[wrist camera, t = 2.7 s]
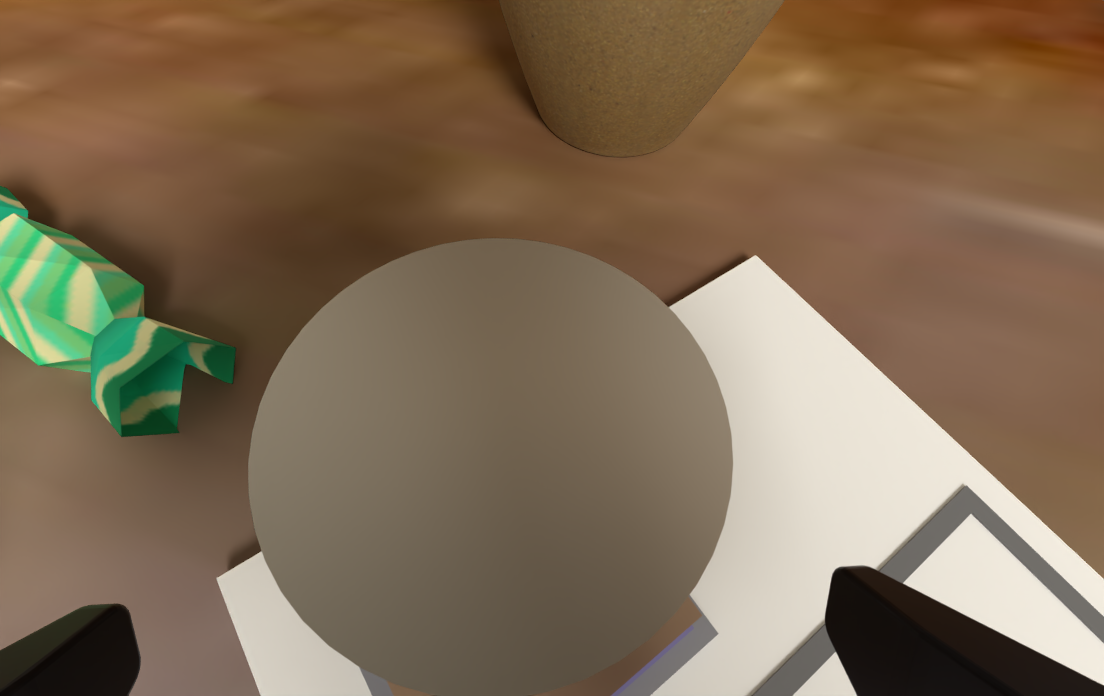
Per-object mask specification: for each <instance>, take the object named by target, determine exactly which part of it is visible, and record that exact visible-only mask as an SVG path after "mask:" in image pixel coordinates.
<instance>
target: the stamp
mask: <svg viewBox="0 0 1104 696" xmlns="http://www.w3.org/2000/svg"><path fill="white" fill-rule="evenodd" d="M732 473H733V451H732V435H731V429H730V424H729V419H728V414H727V409H726V405H725V402H724V399H723V396H722V393H721V390H720V387H719V384H718V381H717V379H716V376H715V374H714V372H713V370H712V368H711V366H710V364H709V362H708V360H707V358H706V356H705V354H704V353H703V351H702V349H701V348H700V346H699V345H698V343H697V342H696V340H695V339H694V337H693V336H692V334H691V333H690V331H689V330H688V329H687V328H686V327H685V325H684V324H683V323H682V322H681V320H680V319H679V318H678V317H677V316H676V314H675V313H674V312H673V311H672V310H671V309H670V308H669V307H668V306H666V305H665V304H664V303H663V302H662V301H661V300H660V299H659V298H658V297H657V296H656V295H655V294H654V293H652V292H651V291H650V290H648V289H647V288H646V287H644V286H643V285H642V284H640V283H639V282H638V281H636V280H635V279H633V278H632V277H630V276H629V275H627V274H625V273H624V272H622V271H620V270H619V269H617V268H615V267H614V266H611V265H609V264H607V263H605V262H603V261H601V260H598V259H596V258H594V257H592V256H590V255H587V254H584V253H581V252H578V251H575V250H572V249H569V248H566V247H562V246H557V245H553V244H549V243H544V242H538V241H531V240H523V239H506V238H487V239H473V240H463V241H458V242H452V243H446V244H441V245H437V246H434V247H430V248H427V249H423V250H420V251H416V252H413V253H411V254H408V255H406V256H403V257H401V258H398V259H396V260H393V261H391V262H389V263H387V264H385V265H383V266H381V267H379V268H377V269H375V270H373V271H372V272H370V273H368V274H366V275H365V276H363V277H362V278H360V279H359V280H357V281H356V282H354V283H353V284H351V285H350V286H348V287H347V288H345V289H344V290H342V291H341V292H340V293H339V294H338V295H337V296H335V297H334V298H333V299H332V300H331V301H329V302H328V303H327V304H326V305H325V306H323V307H322V308H321V309H320V310H319V312H318V313H317V314H316V315H315V316H314V317H313V318H312V319H311V320H310V321H309V322H308V323H307V324H306V325H305V326H304V327H303V329H302V330H301V331H300V333H299V334H298V335H297V337H296V338H295V339H294V341H293V342H292V343H291V345H290V346H289V347H288V349H287V350H286V352H285V353H284V355H283V357H282V358H281V360H280V362H279V364H278V365H277V367H276V369H275V371H274V372H273V374H272V376H271V378H270V381H269V383H268V385H267V388H266V390H265V393H264V395H263V397H262V400H261V402H260V405H259V409H258V413H257V416H256V420H255V424H254V428H253V431H252V437H251V445H250V453H249V461H248V484H249V501H250V507H251V513H252V518H253V524H254V530H255V533H256V536H257V539H258V542H259V545H260V548H261V551H262V553H263V556H264V559H265V562H266V564H267V566H268V568H269V570H270V572H271V573H272V575H273V577H274V579H275V581H276V583H277V585H278V587H279V589H280V591H281V592H282V594H283V595H284V596H285V598H286V599H287V600H288V602H289V603H290V605H291V606H292V607H293V609H294V610H295V611H296V613H297V614H298V615H299V617H300V618H301V619H302V621H303V622H304V623H306V624H307V625H308V626H309V627H310V628H311V629H312V630H313V631H314V632H315V633H316V634H317V635H318V636H319V637H320V638H321V639H322V640H323V641H324V642H325V643H326V644H327V645H328V646H330V647H331V648H332V649H334V650H335V651H337V652H338V653H340V654H341V655H342V656H344V657H345V658H347V659H348V660H350V661H351V662H353V663H354V664H355V665H357V666H358V667H360V668H362V669H364V670H366V671H368V672H370V673H372V674H375V675H377V676H379V677H381V678H383V679H385V680H386V681H387V683H388V685H389V687H390V689H391V691H392V693H393V695H394V696H611V695H612V694H613V693H615V692H616V691H617V690H618V689H619V688H620V687H621V686H623V685H624V684H625V683H626V682H627V681H628V680H629V679H631V678H632V677H633V676H634V675H635V674H636V673H637V672H639V671H640V670H641V669H642V668H643V667H644V666H645V665H646V664H648V663H649V662H650V661H651V660H652V659H653V658H654V657H656V656H657V655H658V654H659V653H660V652H661V651H662V650H664V649H665V648H666V647H667V646H668V645H669V644H670V643H672V642H673V641H674V640H675V639H676V638H677V637H678V636H680V635H681V634H682V633H683V632H684V631H685V630H686V629H688V628H689V627H690V626H691V625H692V624H693V623H694V622H696V621H697V620H698V619H699V618H700V617H701V616H702V614H701V613H700V612H699V610H698V609H697V607H696V606H695V605H694V603H693V602H692V601H691V599H690V598H689V597H688V596H689V595H690V593H691V592H692V591H693V589H694V588H695V587H696V585H697V584H698V582H699V580H700V578H701V576H702V574H703V573H704V571H705V569H706V567H707V565H708V563H709V562H710V560H711V558H712V556H713V554H714V551H715V548H716V546H717V543H718V540H719V538H720V535H721V532H722V529H723V527H724V524H725V519H726V514H727V510H728V505H729V501H730V496H731V487H732Z"/></svg>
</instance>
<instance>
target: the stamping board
mask: <svg viewBox="0 0 1104 696" xmlns="http://www.w3.org/2000/svg"><path fill="white" fill-rule="evenodd" d="M669 308H670V309H671V310H672V311H673V312H674V313H675V314H676V316H677V317H678V318H679V319H680V320H681V322H682V323H683V324H684V325H685V327H686V328H687V329H688V330H689V331H690V333H691V334H692V336H693V337H694V339H695V340H696V342H697V343H698V345H699V346H700V348H701V349H702V351H703V353H704V354H705V356H706V358H707V360H708V362H709V364H710V366H711V368H712V370H713V372H714V374H715V376H716V379H717V381H718V384H719V387H720V390H721V393H722V396H723V399H724V402H725V405H726V409H727V414H728V419H729V424H730V429H731V435H732V451H733V473H732V487H731V496H730V501H729V505H728V510H727V514H726V519H725V524H724V527H723V529H722V532H721V535H720V538H719V540H718V543H717V546H716V548H715V551H714V554H713V556H712V558H711V560H710V562H709V563H708V565H707V567H706V569H705V571H704V573H703V574H702V576H701V578H700V580H699V582H698V584H697V585H696V587H695V588H694V589H693V591H692V592H691V593H690V595H689V596H688V597H689V598H690V599H691V601H692V602H693V603H694V605H695V606H696V607H697V609H698V610H699V612H700V613H701V614H702V616H701V617H700V618H699V619H698V620H697V621H696V622H694V623H693V624H692V625H691V626H690V627H689V628H688V629H686V630H685V631H684V632H683V633H682V634H681V635H680V636H678V637H677V638H676V639H675V640H674V641H673V642H672V643H670V644H669V645H668V646H667V647H666V648H665V649H664V650H662V651H661V652H660V653H659V654H658V655H657V656H656V657H654V658H653V659H652V660H651V661H650V662H649V663H648V664H646V665H645V666H644V667H643V668H642V669H641V670H640V671H639V672H637V673H636V674H635V675H634V676H633V677H632V678H631V679H629V680H628V681H627V682H626V683H625V684H624V685H623V686H621V687H620V688H619V689H618V690H617V691H616V692H615V693H613V694H612V695H611V696H857V695H856V693H855V691H854V689H853V686H852V684H851V682H850V680H849V678H848V676H847V674H846V672H845V670H844V668H843V666H842V664H841V662H840V660H839V658H838V655H837V653H836V651H835V649H834V647H833V645H832V643H831V641H830V639H829V636H828V634H827V631H826V626H825V611H826V605H827V600H828V594H829V588H830V583H831V577H832V573H833V572H834V570H835V569H836V568H838V567H841V566H857V565H865V566H869V567H871V568H874V569H876V570H878V571H880V572H881V573H883V574H885V575H887V576H889V577H891V578H893V579H895V580H897V581H899V582H901V583H903V584H905V585H907V586H909V587H911V588H913V589H915V590H917V591H919V592H921V593H923V594H925V595H927V596H929V597H931V598H933V599H935V600H937V601H939V602H941V603H943V604H945V605H946V606H948V607H950V608H952V609H954V610H956V611H958V612H960V613H962V614H964V615H966V616H968V617H970V618H972V619H974V620H976V621H978V622H980V623H982V624H984V625H986V626H988V627H990V628H992V629H994V630H996V631H998V632H1000V633H1002V634H1004V635H1006V636H1008V637H1010V638H1011V639H1013V640H1015V641H1017V642H1019V643H1021V644H1023V645H1025V646H1027V647H1029V648H1031V649H1033V650H1035V651H1037V652H1039V653H1041V654H1043V655H1045V656H1047V657H1049V658H1051V659H1053V660H1055V661H1057V662H1059V663H1061V664H1063V665H1065V666H1067V667H1069V668H1071V669H1073V670H1075V671H1076V672H1078V673H1080V674H1082V675H1084V676H1086V677H1088V678H1090V679H1092V680H1094V681H1096V682H1098V683H1100V684H1102V685H1104V579H1103V578H1102V577H1101V576H1100V575H1099V574H1098V573H1097V572H1095V571H1094V570H1093V569H1092V568H1091V567H1090V566H1089V565H1088V564H1087V563H1086V562H1085V561H1084V560H1083V559H1082V558H1080V557H1079V556H1078V555H1077V554H1076V553H1075V552H1074V551H1073V550H1072V549H1071V548H1070V547H1069V546H1068V545H1066V544H1065V543H1064V542H1063V541H1062V540H1061V539H1060V538H1059V537H1058V536H1057V535H1056V534H1055V533H1054V532H1053V531H1051V530H1050V529H1049V528H1048V527H1047V526H1046V525H1045V524H1044V523H1043V522H1042V521H1041V520H1040V519H1039V518H1037V517H1036V516H1035V515H1034V514H1033V513H1032V512H1031V511H1030V510H1029V509H1028V508H1027V507H1026V506H1025V505H1024V504H1022V503H1021V502H1020V501H1019V500H1018V499H1017V498H1016V497H1015V496H1014V495H1013V494H1012V493H1011V492H1010V491H1008V490H1007V489H1006V488H1005V487H1004V486H1003V485H1002V484H1001V483H1000V482H999V481H998V480H997V479H996V478H995V477H993V476H992V475H991V474H990V473H989V472H988V471H987V470H986V469H985V468H984V467H983V466H982V465H981V464H979V463H978V462H977V461H976V460H975V459H974V458H973V457H972V456H971V455H970V454H969V453H968V452H967V451H966V450H964V449H963V448H962V447H961V446H960V445H959V444H958V443H957V442H956V441H955V440H954V439H953V438H952V437H950V436H949V435H948V434H947V433H946V432H945V431H944V430H943V429H942V428H941V427H940V426H939V425H938V424H937V423H935V422H934V421H933V420H932V419H931V418H930V417H929V416H928V415H927V414H926V413H925V412H924V411H923V410H921V409H920V408H919V407H918V406H917V405H916V404H915V403H914V402H913V401H912V400H911V399H910V398H909V397H908V396H906V395H905V394H904V393H903V392H902V391H901V390H900V389H899V388H898V387H897V386H896V385H895V384H894V383H892V382H891V381H890V380H889V379H888V378H887V377H886V376H885V375H884V374H883V373H882V372H881V371H880V370H879V369H877V368H876V367H875V366H874V365H873V364H872V363H871V362H870V361H869V360H868V359H867V358H866V357H865V356H863V355H862V354H861V353H860V352H859V351H858V350H857V349H856V348H855V347H854V346H853V345H852V344H851V343H850V342H848V341H847V340H846V339H845V338H844V337H843V336H842V335H841V334H840V333H839V332H838V331H837V330H836V329H834V328H833V327H832V326H831V325H830V324H829V323H828V322H827V321H826V320H825V319H824V318H823V317H822V316H821V315H819V314H818V313H817V312H816V311H815V310H814V309H813V308H812V307H811V306H810V305H809V304H808V303H807V302H805V301H804V300H803V299H802V298H801V297H800V296H799V295H798V294H797V293H796V292H795V291H794V290H793V289H792V288H790V287H789V286H788V285H787V284H786V283H785V282H784V281H783V280H782V279H781V278H780V277H779V276H778V275H776V274H775V273H774V272H773V271H772V270H771V269H770V268H769V267H768V266H767V265H766V264H765V263H764V262H763V261H761V260H760V259H759V258H758V257H757V256H756V255H755V256H753V257H752V258H750V259H748V260H747V261H745V262H743V263H742V264H740V265H738V266H737V267H735V268H733V269H732V270H730V271H728V272H727V273H725V274H723V275H722V276H720V277H718V278H717V279H715V280H713V281H712V282H710V283H708V284H707V285H705V286H703V287H702V288H700V289H698V290H697V291H695V292H693V293H692V294H690V295H688V296H687V297H685V298H683V299H682V300H680V301H678V302H677V303H675V304H673V305H672V306H670V307H669ZM216 579H217V582H218V584H219V587H220V590H221V592H222V595H223V597H224V600H225V603H226V605H227V608H228V611H229V613H230V616H231V618H232V621H233V624H234V626H235V629H236V632H237V634H238V637H239V640H240V642H241V645H242V647H243V650H244V653H245V655H246V658H247V661H248V663H249V666H250V669H251V671H252V674H253V676H254V679H255V682H256V684H257V687H258V690H259V692H260V695H261V696H394V695H393V693H392V691H391V689H390V687H389V685H388V683H387V681H386V680H385V679H383V678H381V677H379V676H377V675H375V674H372V673H370V672H368V671H366V670H364V669H362V668H360V667H358V666H357V665H355V664H354V663H353V662H351V661H350V660H348V659H347V658H345V657H344V656H342V655H341V654H340V653H338V652H337V651H335V650H334V649H332V648H331V647H330V646H328V645H327V644H326V643H325V642H324V641H323V640H322V639H321V638H320V637H319V636H318V635H317V634H316V633H315V632H314V631H313V630H312V629H311V628H310V627H309V626H308V625H307V624H306V623H304V622H303V621H302V619H301V618H300V617H299V615H298V614H297V613H296V611H295V610H294V609H293V607H292V606H291V605H290V603H289V602H288V600H287V599H286V598H285V596H284V595H283V594H282V592H281V591H280V589H279V587H278V585H277V583H276V581H275V579H274V577H273V575H272V573H271V572H270V570H269V568H268V566H267V564H266V562H265V559H264V556H263V553H262V551H261V552H260V553H258V554H256V555H254V556H253V557H251V558H249V559H248V560H246V561H244V562H243V563H241V564H239V565H238V566H236V567H234V568H233V569H231V570H229V571H228V572H226V573H224V574H223V575H221V576H219V577H218V578H216Z"/></svg>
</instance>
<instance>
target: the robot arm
mask: <svg viewBox="0 0 1104 696" xmlns="http://www.w3.org/2000/svg"><path fill="white" fill-rule="evenodd" d="M825 626H826V631H827V634H828V636H829V639H830V641H831V643H832V645H833V647H834V649H835V651H836V653H837V655H838V658H839V660H840V662H841V664H842V666H843V668H844V670H845V672H846V674H847V676H848V678H849V680H850V682H851V684H852V686H853V689H854V691H855V693H856V695H857V696H1104V685H1102V684H1100V683H1098V682H1096V681H1094V680H1092V679H1090V678H1088V677H1086V676H1084V675H1082V674H1080V673H1078V672H1076V671H1075V670H1073V669H1071V668H1069V667H1067V666H1065V665H1063V664H1061V663H1059V662H1057V661H1055V660H1053V659H1051V658H1049V657H1047V656H1045V655H1043V654H1041V653H1039V652H1037V651H1035V650H1033V649H1031V648H1029V647H1027V646H1025V645H1023V644H1021V643H1019V642H1017V641H1015V640H1013V639H1011V638H1010V637H1008V636H1006V635H1004V634H1002V633H1000V632H998V631H996V630H994V629H992V628H990V627H988V626H986V625H984V624H982V623H980V622H978V621H976V620H974V619H972V618H970V617H968V616H966V615H964V614H962V613H960V612H958V611H956V610H954V609H952V608H950V607H948V606H946V605H945V604H943V603H941V602H939V601H937V600H935V599H933V598H931V597H929V596H927V595H925V594H923V593H921V592H919V591H917V590H915V589H913V588H911V587H909V586H907V585H905V584H903V583H901V582H899V581H897V580H895V579H893V578H891V577H889V576H887V575H885V574H883V573H881V572H880V571H878V570H876V569H874V568H871V567H869V566H865V565H857V566H841V567H838V568H836V569H835V570H834V572H833V573H832V577H831V583H830V588H829V594H828V600H827V605H826V611H825ZM140 662H141V657H140V652H139V648H138V644H137V640H136V636H135V632H134V628H133V624H132V620H131V616H130V612H129V610H128V609H127V608H126V607H125V606H124V605H121V604H99V605H88V606H84V607H81V608H79V609H77V610H75V611H73V612H71V613H69V614H67V615H66V616H64V617H62V618H60V619H58V620H56V621H54V622H52V623H51V624H49V625H47V626H45V627H43V628H41V629H39V630H38V631H36V632H34V633H32V634H30V635H28V636H26V637H24V638H23V639H21V640H19V641H17V642H15V643H13V644H11V645H9V646H8V647H6V648H4V649H2V650H0V696H129V694H130V692H131V690H132V688H133V686H134V684H135V682H136V679H137V677H138V674H139V670H140Z"/></svg>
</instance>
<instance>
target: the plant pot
mask: <svg viewBox="0 0 1104 696" xmlns="http://www.w3.org/2000/svg"><path fill="white" fill-rule="evenodd" d="M783 2H784V0H499V3H500V6H501V9H502V12H503V15H504V19H505V22H506V25H507V28H508V31H509V34H510V37H511V40H512V43H513V46H514V49H515V51H516V54H517V57H518V60H519V62H520V65H521V68H522V70H523V73H524V76H525V79H526V81H527V84H528V86H529V89H530V92H531V94H532V97H533V99H534V102H535V104H536V106H537V109H538V111H539V114H540V116H541V118H542V120H543V121H544V123H545V124H546V125H547V127H548V128H549V129H550V130H551V131H552V132H553V133H554V134H555V135H556V136H558V137H559V138H560V139H562V140H563V141H565V142H566V143H568V144H570V145H572V146H574V147H576V148H579V149H581V150H584V151H587V152H591V153H595V154H599V155H604V156H613V157H630V156H639V155H644V154H648V153H651V152H654V151H657V150H659V149H661V148H663V147H665V146H666V145H668V144H670V143H671V142H672V141H674V140H675V139H676V138H677V137H678V136H679V135H680V134H681V132H682V131H683V130H684V129H685V128H686V127H687V126H688V124H689V123H690V122H691V121H692V120H693V119H694V117H695V116H696V115H697V114H698V113H699V112H700V110H701V109H702V108H703V107H704V106H705V104H706V103H707V102H708V101H709V100H710V99H711V97H712V96H713V95H714V94H715V92H716V91H717V90H718V89H719V88H720V86H721V85H722V84H723V83H724V81H725V80H726V79H727V77H728V76H729V75H730V74H731V72H732V71H733V70H734V69H735V67H736V66H737V65H738V63H739V62H740V61H741V60H742V58H743V57H744V56H745V54H746V53H747V52H748V50H749V49H750V48H751V46H752V45H753V43H754V42H755V41H756V39H757V38H758V37H759V35H760V34H761V33H762V31H763V30H764V29H765V27H766V26H767V25H768V23H769V22H770V20H771V19H772V18H773V16H774V15H775V13H776V12H777V10H778V9H779V8H780V6H781V5H782V3H783Z"/></svg>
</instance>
